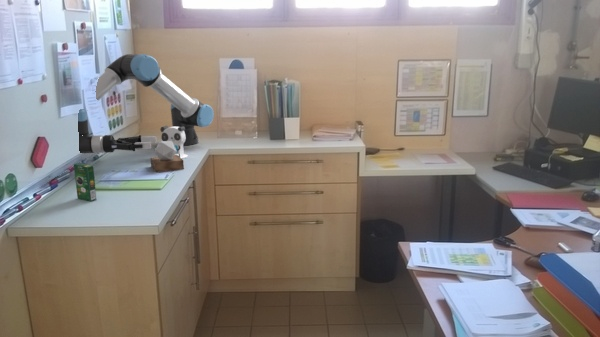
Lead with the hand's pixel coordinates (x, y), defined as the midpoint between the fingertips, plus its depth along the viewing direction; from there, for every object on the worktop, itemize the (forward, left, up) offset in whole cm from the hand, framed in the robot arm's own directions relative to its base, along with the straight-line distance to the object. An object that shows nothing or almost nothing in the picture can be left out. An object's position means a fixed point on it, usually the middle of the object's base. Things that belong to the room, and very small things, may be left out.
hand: (153, 142), depth 238 cm
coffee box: (+31, +35, -12) cm, 49 cm away
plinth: (-5, +1, -12) cm, 13 cm away
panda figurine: (-13, -19, -12) cm, 25 cm away
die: (-5, +2, -8) cm, 10 cm away
